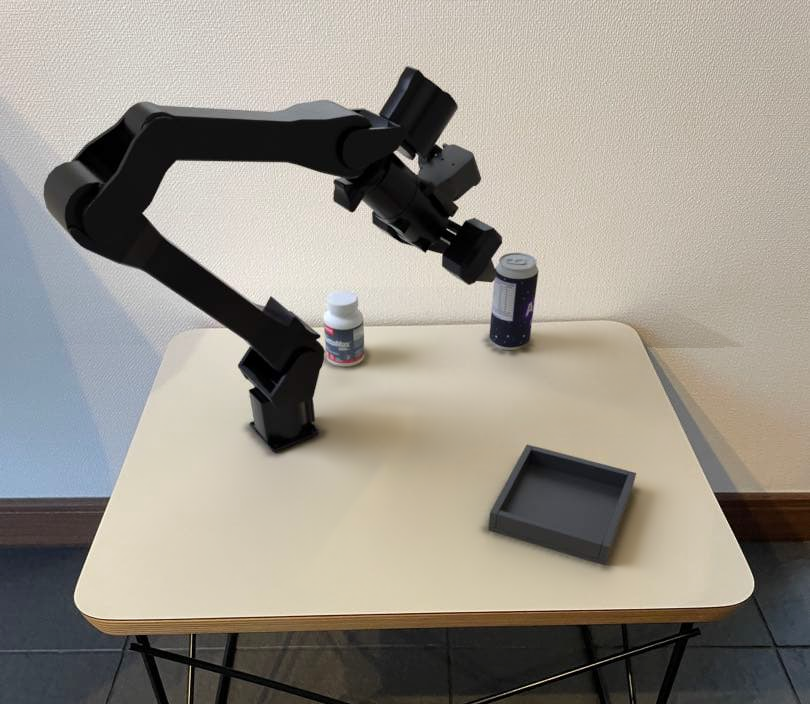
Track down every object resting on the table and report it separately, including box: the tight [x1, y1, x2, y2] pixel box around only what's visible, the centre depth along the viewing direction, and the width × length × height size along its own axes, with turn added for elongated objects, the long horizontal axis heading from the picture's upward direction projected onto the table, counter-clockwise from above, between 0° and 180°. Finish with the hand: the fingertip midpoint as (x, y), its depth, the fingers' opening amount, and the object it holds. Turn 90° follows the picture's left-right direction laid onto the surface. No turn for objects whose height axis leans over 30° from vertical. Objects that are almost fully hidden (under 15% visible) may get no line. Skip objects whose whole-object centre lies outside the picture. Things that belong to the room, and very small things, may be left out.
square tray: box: [487, 444, 637, 566], centre depth 83 cm, size 13×13×3 cm
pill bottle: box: [323, 290, 365, 367], centre depth 102 cm, size 5×5×9 cm
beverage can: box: [489, 252, 539, 351], centre depth 104 cm, size 6×6×12 cm
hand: (470, 264), depth 95 cm, fingers open, 9 cm apart
